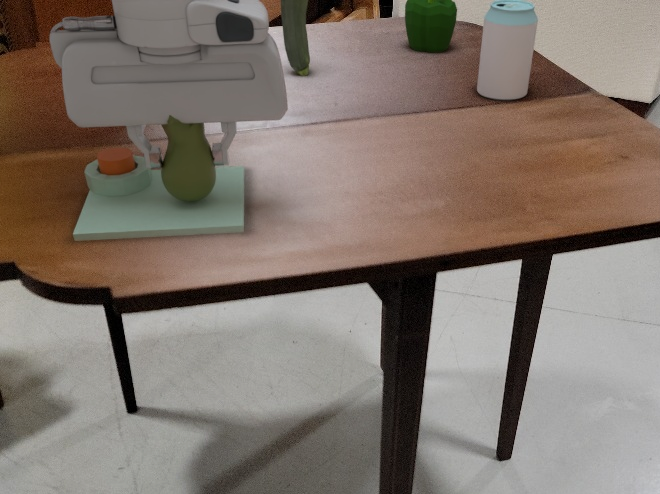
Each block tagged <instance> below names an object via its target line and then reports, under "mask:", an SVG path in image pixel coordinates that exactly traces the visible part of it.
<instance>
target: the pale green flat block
mask: <svg viewBox="0 0 660 494" xmlns="http://www.w3.org/2000/svg"><path fill="white" fill-rule="evenodd" d="M133 157H134V162H135V167H136V169H135V170H133V171H131V172H129V173H125V174H121V175H105V174H101V173H100V169H99V164H98V160H97V159H95V160H93V161H91V162H90V163H88V164H86V167H85V169H84V176H85V180H86V184H87V188H88V189H89V191H88V194H87V196H86V199H85V201H84V204H83V206H82V209H81V211H80V214H79V217H78V219H77V222H76V225H75V227H74V230H73V233H72V236H73V241H75V242H78V241H79V242H81V241H82V242H83V241H102V240H120V239H122V240H123V239H137V238H139V239H140V238H157V237H158V238H159V237H173V236H174V237H175V236H193V235H194V236H196V235H215V234H233V233H234V234H235V233H244V232H245V177H246V176H245V166H244V165H235V166H233V165H231V166H215V169H216V181H215V185H214V187H213V189H212V191H211V192H210V193H209V194H208V195H207V196H206V197H204V198H203V199H201V200H198V201H192V202H187V201H182V200H179V199H176V198H175V197H173V196H172V195H171V194H170V193H169V192H168V191H167V190H166V188H165V186H164V184H163V182H162V178H161V169H147V168H146V165H145V159H144V156H141V155H136V154H133Z"/></svg>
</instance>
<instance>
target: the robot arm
mask: <svg viewBox="0 0 660 494" xmlns="http://www.w3.org/2000/svg"><path fill="white" fill-rule="evenodd" d="M111 4H112V10H113V15H94V16H87V17H79V16H66V17H63V18H62V21H59V22H58V23H56V24H55V25H53V27H52V28H51V29H50V31H49V39H48V40H49V41H48V42H49V44H50V49H51V53H52V57H53V59H54V61H55V63H56V64H57V65H58V67H59V68H60V69H61V80H62V81H61V82H62V92H63V98H64V106H65V111H66V114H67V117H68V119H69V120H70V121H72V123H73V124H75V126H77V127H78V128H106V127H107V128H109V127H126V133H127V137H128V138H129V139H130V141H132V143H133V144H134V146H136V148H137V149H138V150H139V151H140V152H141V153H142V154H143V157H144V159H145V165H146V168H147V169H151V170H153V169H161V168H162V164H163V160H164V157H163V155H162V148H161V144H154V145H153V144H152V143H151V142H150V140H149V139H148V137H147V136H146V135H145V134H144V132H145V128H146V126H154V125H155V126H158V125H159V126H162V125H164V124H168V123H167V121H168V119H169V115H171V116H172V117H174V118H175V119H178V120H179V121H180V122H182V123H185V124H191V123H204V124H215V123H220V127H221V128H220V129H221V133H224V134H223V137H222V138H221V140H220V142H212V148H211V150H212V155H213V158H214V159H213V163H214V166H215V167H223V166H229V165H230V154H229V148H230V146H231V145H232V142H233V141H234V138H235V136H236V134H237V132H238V131H237V130H238V129H237V128H238V124H237V123H241V122H242V123H243V122H265V121H267V122H268V121H269V122H271V121H280V120H282V119H283V118H284V116H285V115H286V114H287V112H288V111H289V105H288V94H287V86H286V85H287V84H286V80H285V74H284V69H283V63H282V59H281V55H280V51H279V47H278V45H277V43H276V41H275V39H274V37H273V36H272V35H271V34H270V33H269V29H270V17H269V13H268V10H267V8H266V6H265V5H264V3H263V2H261V1H260V0H111ZM62 28H63V29H62Z"/></svg>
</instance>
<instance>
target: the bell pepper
mask: <svg viewBox="0 0 660 494" xmlns="http://www.w3.org/2000/svg"><path fill="white" fill-rule="evenodd" d="M457 15H458V7H457V5H456V2H455V1H453V0H406V2H405V5H404V25H405V29H406V30H405V31H406V37H407V41H408V45H409V47H410V49H412V50H413V51H416V52H421V53H422V52H426V53H434V54H436V53H442V52H445V51H447V49H448V48H449V47H450V44H451V41H452V37H453V36H454V35H453V34H454V30H455V27H456V24H457V18H458V17H457Z"/></svg>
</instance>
